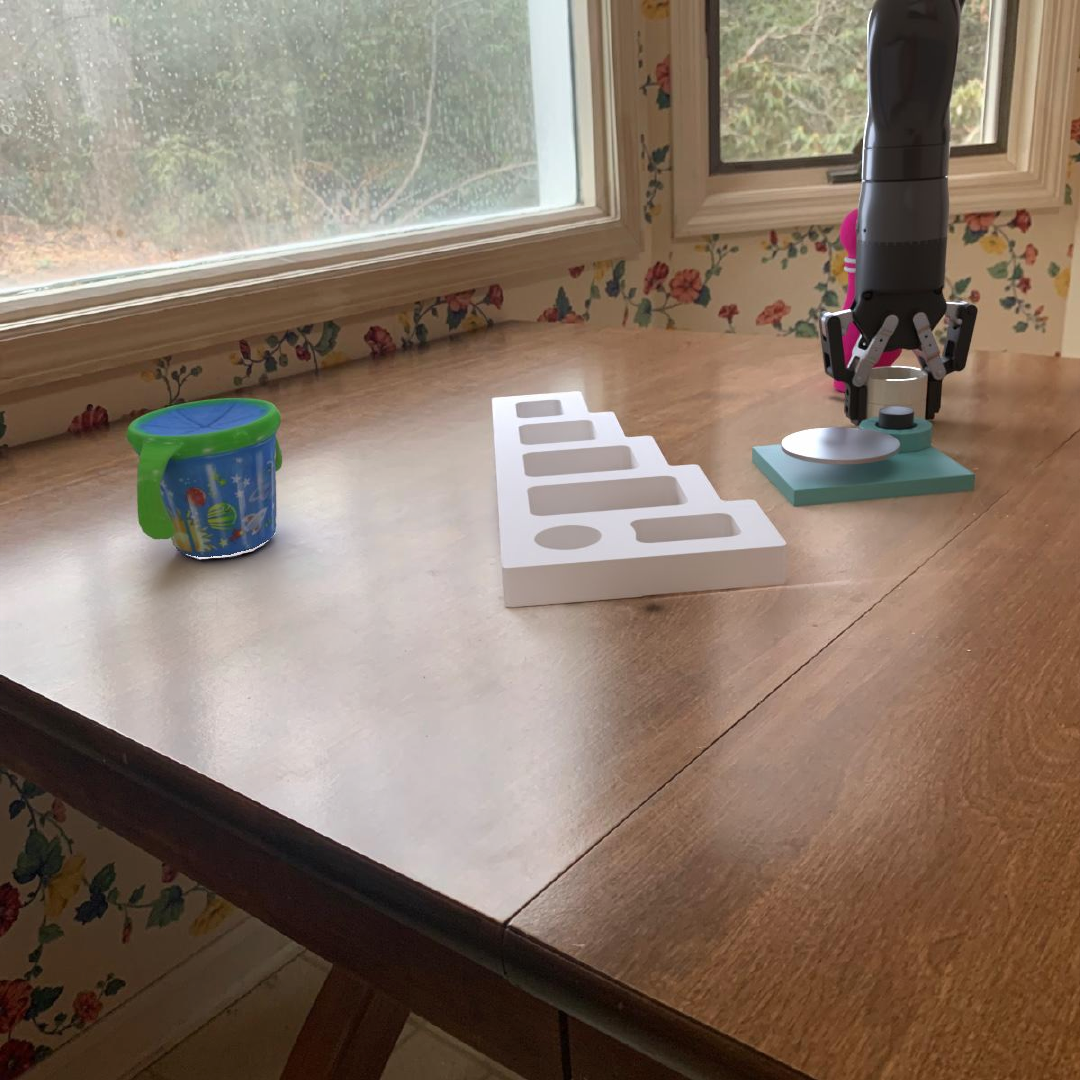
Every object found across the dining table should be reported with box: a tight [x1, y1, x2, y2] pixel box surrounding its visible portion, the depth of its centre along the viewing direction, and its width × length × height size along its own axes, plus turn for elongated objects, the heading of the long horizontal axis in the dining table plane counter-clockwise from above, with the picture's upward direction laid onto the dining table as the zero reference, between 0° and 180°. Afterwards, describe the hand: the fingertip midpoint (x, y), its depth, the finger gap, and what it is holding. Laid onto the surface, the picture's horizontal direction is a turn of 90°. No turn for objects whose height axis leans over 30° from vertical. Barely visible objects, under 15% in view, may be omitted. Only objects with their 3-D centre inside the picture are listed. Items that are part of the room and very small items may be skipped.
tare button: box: [878, 406, 914, 430], centre depth 90 cm, size 3×3×2 cm
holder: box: [491, 390, 787, 608], centre depth 89 cm, size 45×18×3 cm, turn 3°
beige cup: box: [864, 365, 928, 419], centre depth 100 cm, size 6×6×5 cm
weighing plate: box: [780, 426, 900, 465], centre depth 86 cm, size 9×9×1 cm
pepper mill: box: [833, 207, 903, 393], centre depth 111 cm, size 7×7×20 cm
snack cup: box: [125, 397, 283, 560], centre depth 81 cm, size 16×10×10 cm
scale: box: [751, 417, 976, 508], centre depth 88 cm, size 14×12×3 cm
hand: (891, 420), depth 101 cm, fingers closed on beige cup, 6 cm apart
